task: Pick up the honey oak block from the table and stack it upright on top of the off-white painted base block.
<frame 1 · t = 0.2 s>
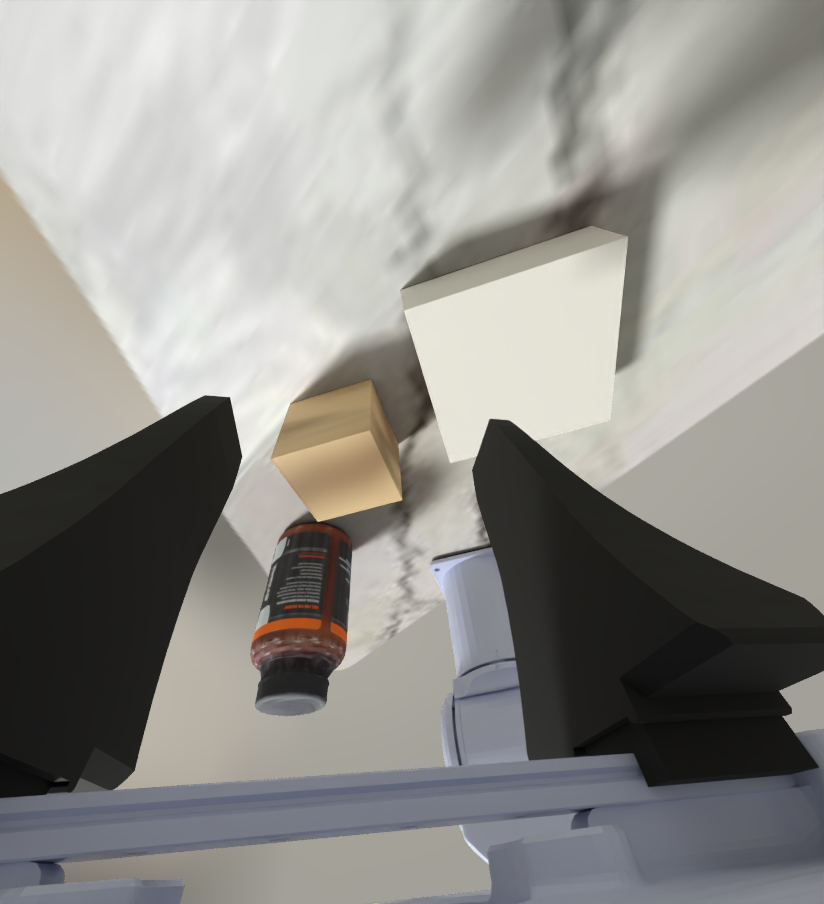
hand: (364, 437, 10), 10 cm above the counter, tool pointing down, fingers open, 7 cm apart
supplement bottle: (316, 540, 29), on the counter
base block: (503, 347, 19), on the counter
oak block: (347, 424, 22), on the counter
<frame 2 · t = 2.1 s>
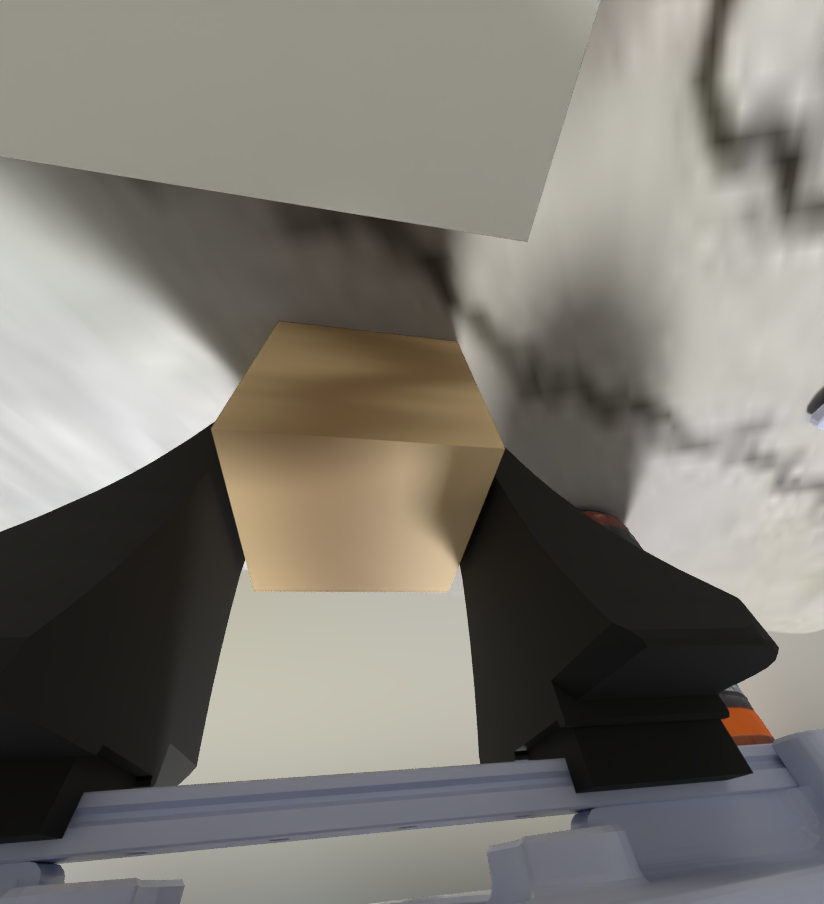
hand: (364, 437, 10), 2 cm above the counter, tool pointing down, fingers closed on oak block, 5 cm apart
supplement bottle: (560, 541, 17), on the counter
oak block: (366, 407, 11), on the counter, touching gripper
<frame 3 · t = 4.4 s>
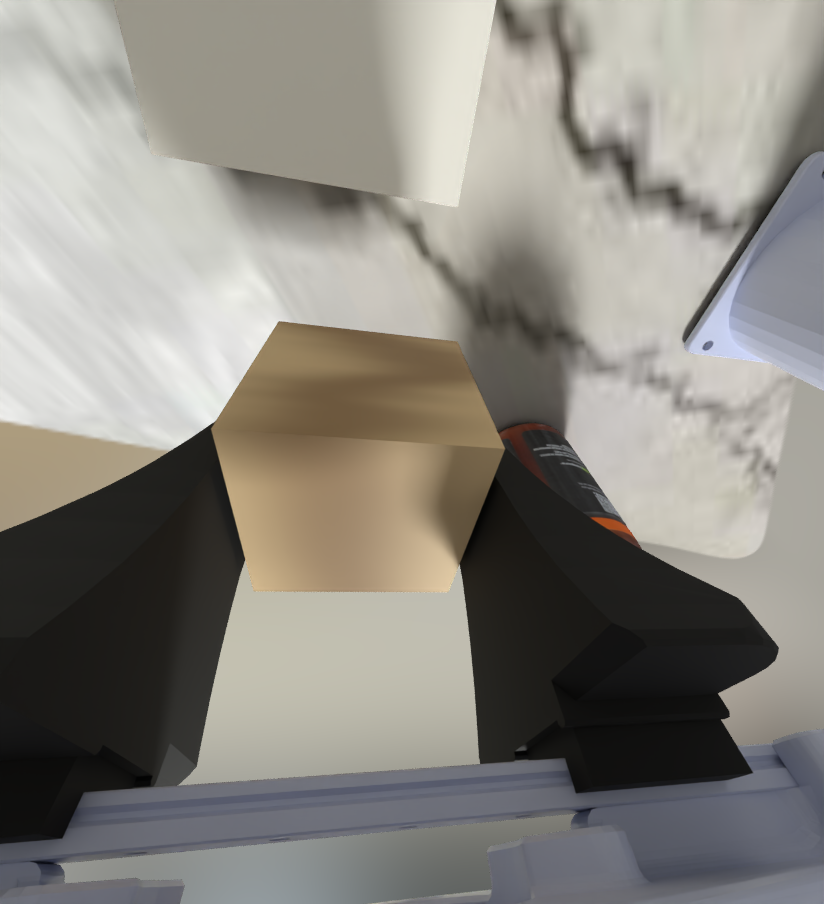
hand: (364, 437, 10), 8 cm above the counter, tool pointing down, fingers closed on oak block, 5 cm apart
supplement bottle: (517, 454, 23), on the counter
oak block: (365, 407, 11), point 7 cm above the counter, touching gripper
when the fingers open (6 cm above the counter, at t = 6.7 s): oak block stays where it is, resting on base block.
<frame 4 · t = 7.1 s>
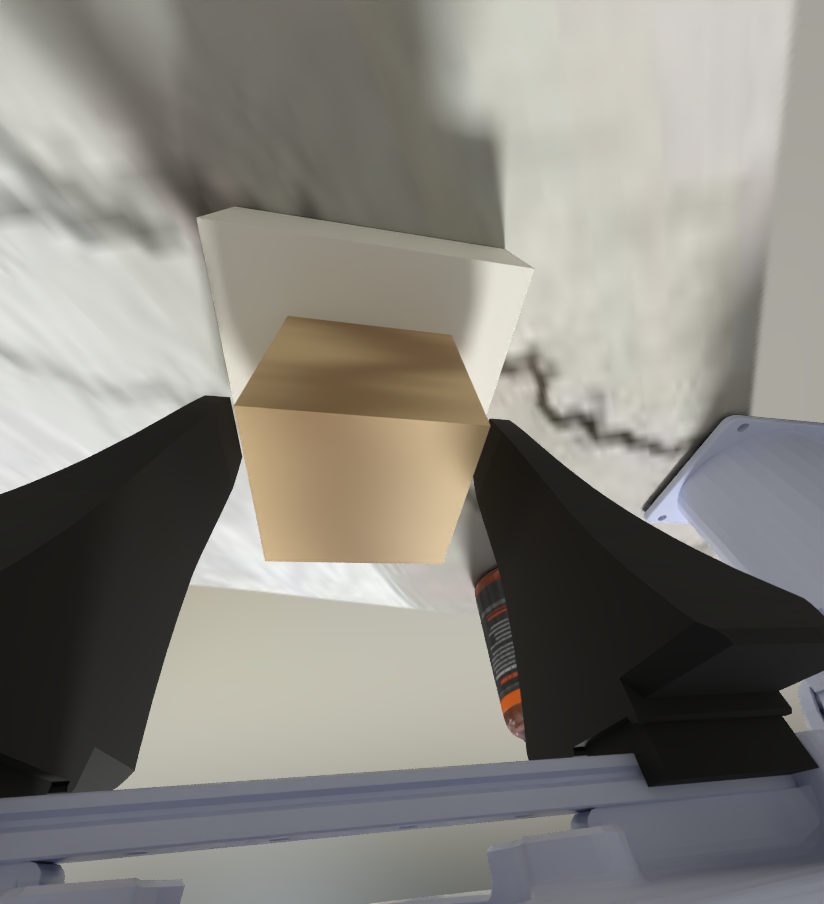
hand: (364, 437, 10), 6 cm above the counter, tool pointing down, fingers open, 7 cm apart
supplement bottle: (510, 578, 27), on the counter
base block: (368, 355, 14), on the counter
oak block: (367, 396, 12), point 3 cm above the counter, touching base block
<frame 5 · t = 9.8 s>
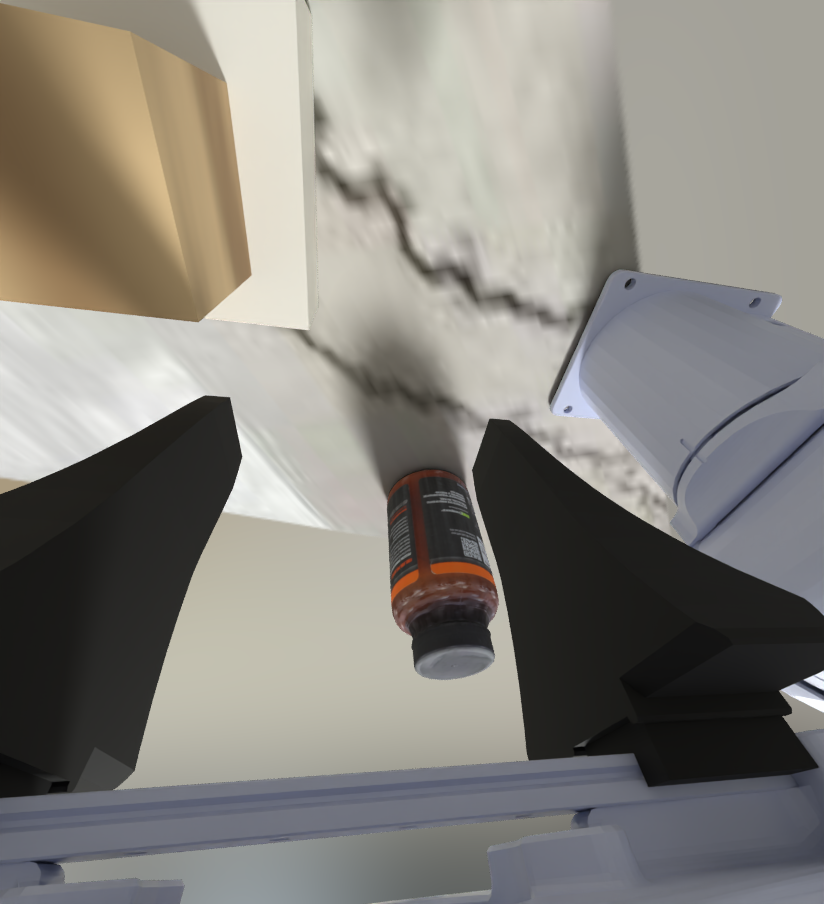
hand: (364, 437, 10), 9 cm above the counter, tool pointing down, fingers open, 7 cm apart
supplement bottle: (427, 493, 26), on the counter
base block: (193, 170, 13), on the counter
oak block: (157, 178, 11), point 3 cm above the counter, touching base block
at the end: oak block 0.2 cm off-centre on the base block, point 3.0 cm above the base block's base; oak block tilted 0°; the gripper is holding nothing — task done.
